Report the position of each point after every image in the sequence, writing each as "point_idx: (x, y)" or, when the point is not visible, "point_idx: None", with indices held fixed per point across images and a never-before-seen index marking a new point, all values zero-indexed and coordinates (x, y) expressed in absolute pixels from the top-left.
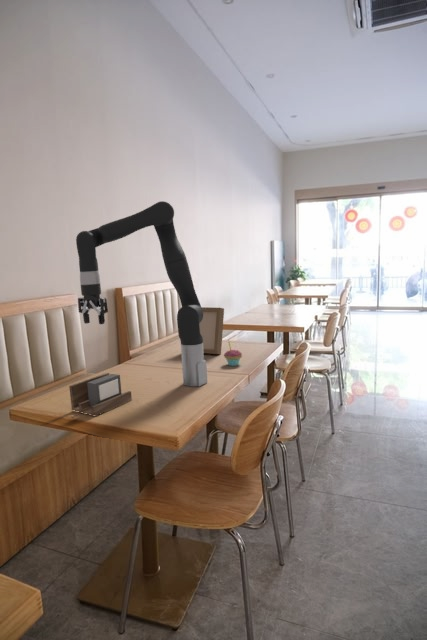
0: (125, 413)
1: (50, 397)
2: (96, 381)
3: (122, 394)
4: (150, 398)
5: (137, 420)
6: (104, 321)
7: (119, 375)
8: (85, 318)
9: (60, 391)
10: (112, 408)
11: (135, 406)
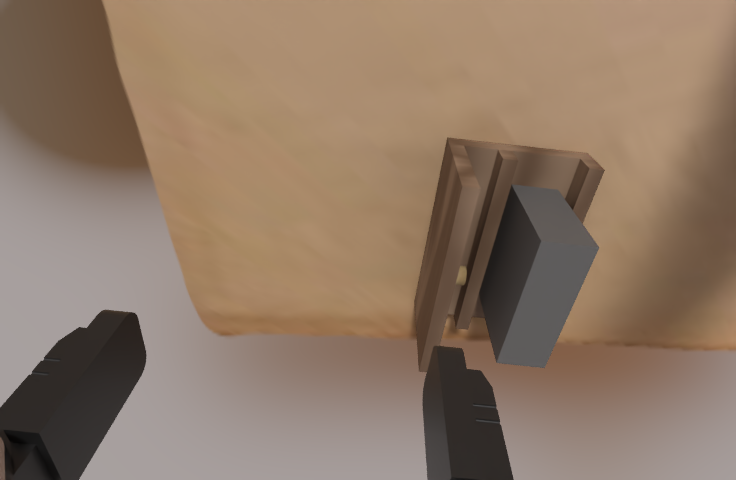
0: (622, 268)
1: (204, 221)
2: (531, 345)
3: (580, 214)
4: (674, 105)
5: (691, 300)
6: (488, 385)
7: (597, 248)
8: (106, 422)
9: (164, 151)
10: None
11: (635, 206)
